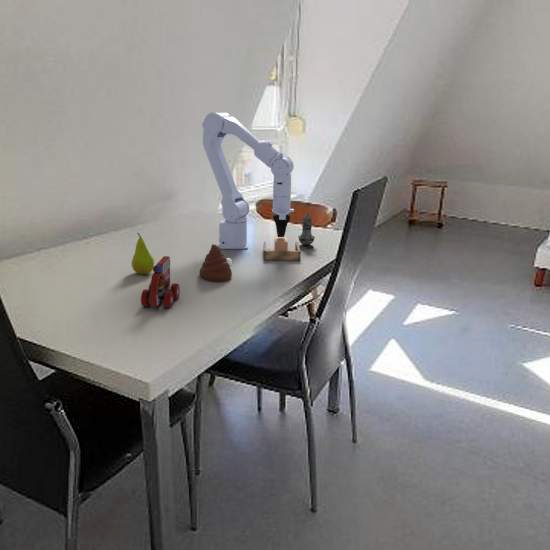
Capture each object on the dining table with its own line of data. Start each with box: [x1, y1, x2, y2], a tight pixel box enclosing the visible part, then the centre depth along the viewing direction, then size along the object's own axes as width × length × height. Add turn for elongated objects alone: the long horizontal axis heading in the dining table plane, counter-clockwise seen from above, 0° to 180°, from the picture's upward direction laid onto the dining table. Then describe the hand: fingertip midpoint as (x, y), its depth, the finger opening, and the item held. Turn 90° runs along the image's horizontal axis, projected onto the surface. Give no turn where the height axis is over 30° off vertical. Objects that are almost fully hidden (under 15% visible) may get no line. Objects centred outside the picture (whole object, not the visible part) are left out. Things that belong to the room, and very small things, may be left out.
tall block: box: [273, 236, 289, 251], centre depth 161 cm, size 4×4×7 cm
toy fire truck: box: [140, 255, 181, 309], centre depth 116 cm, size 7×12×10 cm, turn 175°
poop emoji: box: [199, 244, 233, 283], centre depth 135 cm, size 10×8×9 cm
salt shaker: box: [297, 212, 316, 250], centre depth 167 cm, size 6×6×12 cm
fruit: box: [131, 232, 155, 275], centre depth 136 cm, size 6×6×12 cm
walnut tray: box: [263, 240, 302, 262], centre depth 158 cm, size 11×12×3 cm
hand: (280, 236), depth 162 cm, fingers closed
